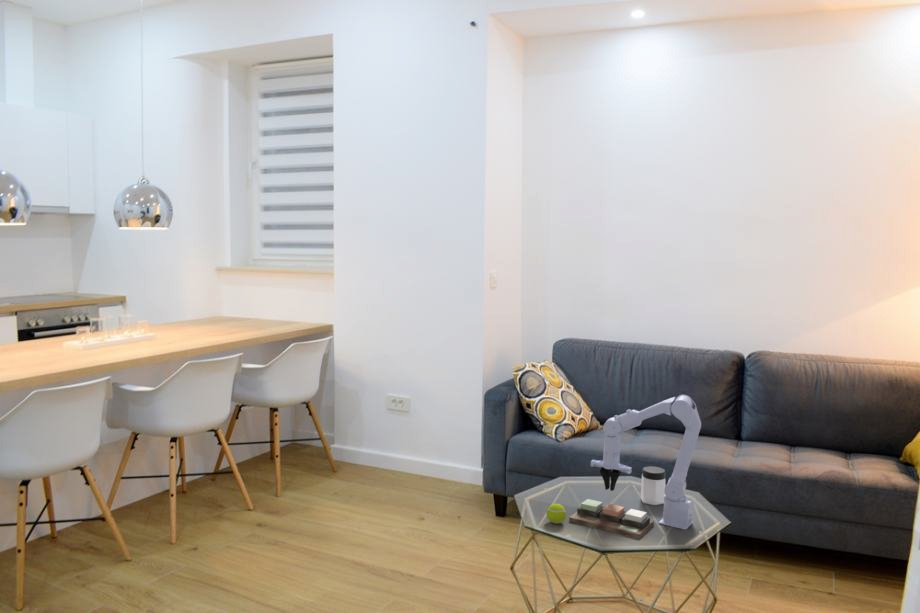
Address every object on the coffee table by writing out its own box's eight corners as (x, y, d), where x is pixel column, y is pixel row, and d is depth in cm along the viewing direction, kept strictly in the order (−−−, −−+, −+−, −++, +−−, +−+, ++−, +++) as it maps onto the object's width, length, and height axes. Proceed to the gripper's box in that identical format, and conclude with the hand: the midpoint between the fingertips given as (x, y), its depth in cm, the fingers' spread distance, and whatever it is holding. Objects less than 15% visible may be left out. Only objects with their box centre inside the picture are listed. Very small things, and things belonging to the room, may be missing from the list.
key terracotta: (624, 512, 268) (624, 507, 267) (618, 517, 263) (618, 512, 263) (608, 509, 271) (608, 503, 270) (602, 514, 266) (602, 508, 266)
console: (653, 525, 265) (654, 515, 265) (639, 538, 253) (639, 529, 253) (585, 509, 278) (586, 500, 278) (569, 521, 267) (569, 512, 266)
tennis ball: (558, 528, 260) (559, 509, 259) (542, 523, 265) (542, 504, 264) (569, 523, 265) (570, 504, 264) (553, 517, 270) (554, 499, 269)
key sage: (602, 507, 272) (602, 502, 272) (595, 512, 267) (596, 507, 267) (587, 504, 275) (587, 498, 275) (580, 509, 270) (581, 503, 270)
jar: (638, 496, 292) (640, 465, 291) (660, 497, 292) (662, 466, 290) (643, 505, 283) (644, 473, 282) (666, 506, 283) (667, 474, 282)
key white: (646, 518, 263) (646, 512, 263) (640, 523, 259) (641, 517, 258) (630, 514, 266) (631, 508, 266) (624, 519, 262) (625, 513, 261)
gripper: (587, 451, 274) (586, 488, 275) (627, 458, 266) (625, 496, 268) (595, 446, 280) (594, 482, 281) (634, 453, 272) (632, 491, 273)
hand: (609, 489), depth 275 cm, fingers closed
